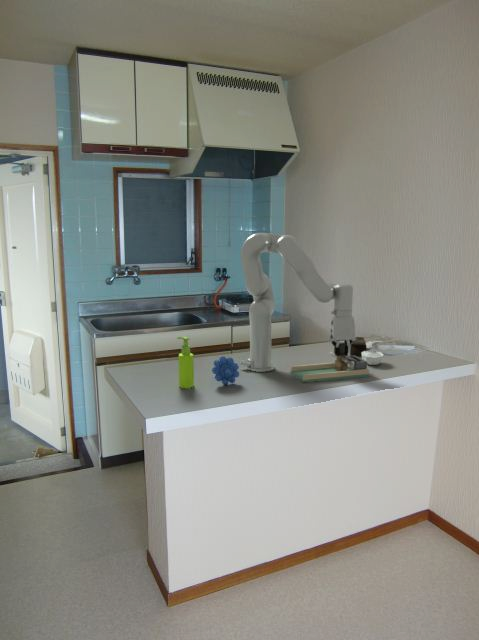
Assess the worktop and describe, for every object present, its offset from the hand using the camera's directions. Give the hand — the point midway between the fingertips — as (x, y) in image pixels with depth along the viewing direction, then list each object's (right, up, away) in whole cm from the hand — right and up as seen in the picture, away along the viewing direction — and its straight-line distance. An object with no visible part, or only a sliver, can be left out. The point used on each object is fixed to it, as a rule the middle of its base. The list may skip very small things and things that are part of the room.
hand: (341, 354), depth 219 cm
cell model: (+18, -6, +17) cm, 25 cm away
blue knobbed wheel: (-49, -12, -14) cm, 52 cm away
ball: (+5, -5, +3) cm, 8 cm away
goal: (+6, -7, +3) cm, 10 cm away
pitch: (-5, -9, 0) cm, 10 cm away
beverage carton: (+16, -2, +40) cm, 43 cm away
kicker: (0, -7, +1) cm, 7 cm away
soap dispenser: (-65, -12, -15) cm, 68 cm away
